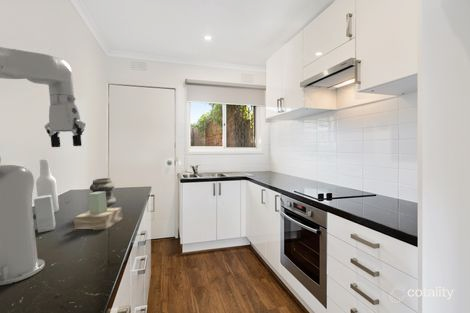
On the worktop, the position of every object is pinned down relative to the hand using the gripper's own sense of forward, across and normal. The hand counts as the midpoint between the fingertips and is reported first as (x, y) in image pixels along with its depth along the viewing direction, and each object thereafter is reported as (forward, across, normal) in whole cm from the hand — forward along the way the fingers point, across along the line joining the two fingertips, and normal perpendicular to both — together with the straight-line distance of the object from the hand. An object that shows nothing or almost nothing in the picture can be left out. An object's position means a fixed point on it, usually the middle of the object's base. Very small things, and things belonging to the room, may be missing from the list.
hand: (66, 146), depth 92 cm
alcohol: (+36, +49, -32) cm, 69 cm away
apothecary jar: (+36, +16, -35) cm, 53 cm away
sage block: (+31, +3, -17) cm, 35 cm away
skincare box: (+36, +24, -9) cm, 45 cm away
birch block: (+37, +3, -17) cm, 41 cm away
